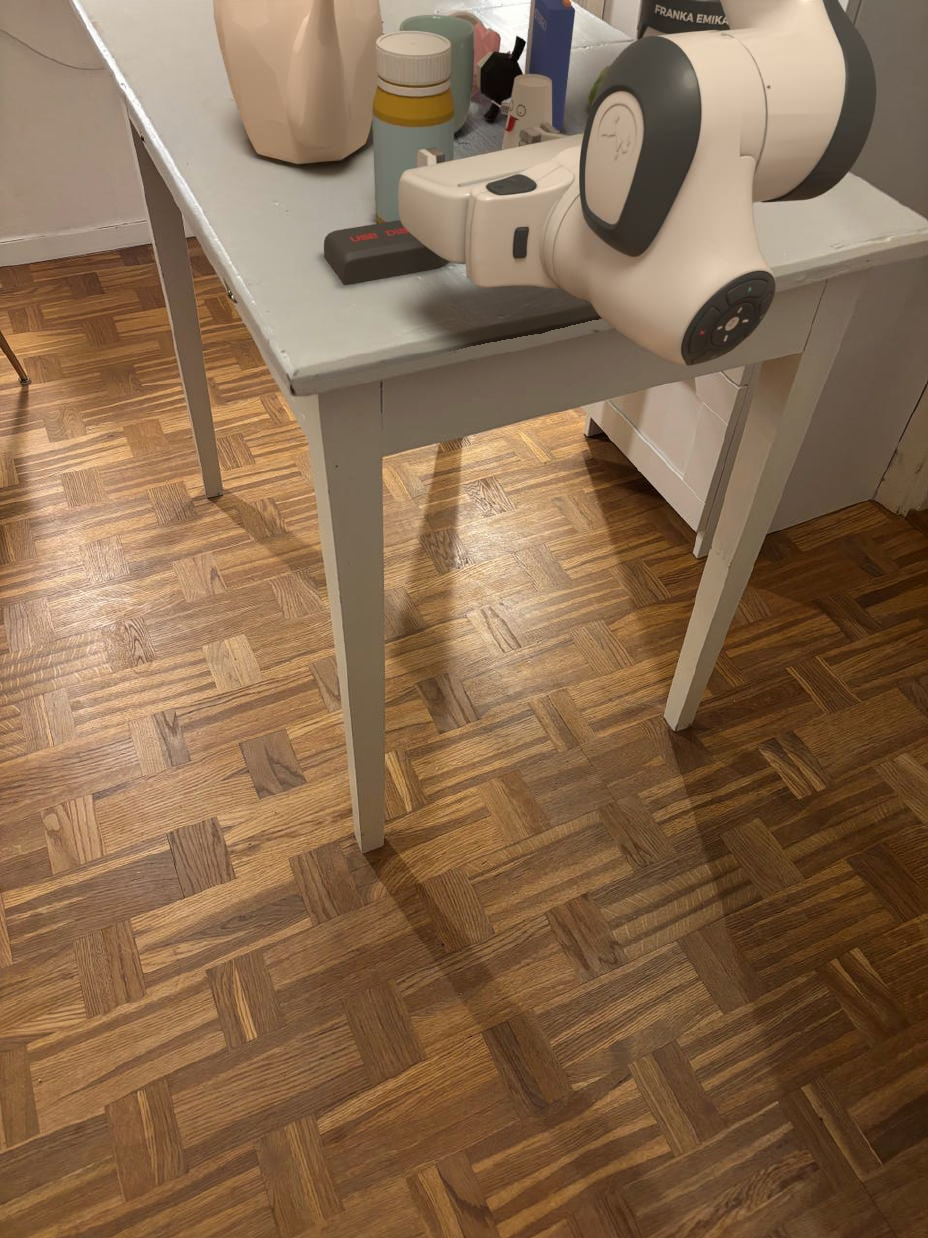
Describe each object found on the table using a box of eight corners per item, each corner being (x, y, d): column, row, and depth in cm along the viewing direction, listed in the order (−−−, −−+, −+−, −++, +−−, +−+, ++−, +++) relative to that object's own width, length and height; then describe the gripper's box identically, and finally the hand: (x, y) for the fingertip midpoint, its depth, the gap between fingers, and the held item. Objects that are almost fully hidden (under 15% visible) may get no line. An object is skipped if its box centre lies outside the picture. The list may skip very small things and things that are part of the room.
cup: (463, 147, 100) (467, 42, 93) (392, 139, 101) (390, 33, 94) (477, 121, 106) (482, 18, 98) (409, 112, 106) (409, 10, 99)
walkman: (562, 130, 104) (576, 5, 95) (537, 131, 104) (549, 5, 95) (545, 104, 109) (556, -18, 100) (521, 104, 109) (531, -18, 100)
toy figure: (467, 156, 99) (470, 66, 93) (509, 145, 101) (515, 57, 95) (539, 200, 92) (548, 106, 86) (582, 187, 95) (594, 95, 89)
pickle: (599, 88, 114) (603, 59, 112) (625, 92, 114) (629, 62, 111) (582, 117, 108) (586, 86, 105) (610, 121, 107) (615, 90, 105)
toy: (450, -11, 108) (494, 20, 98) (501, 21, 112) (548, 55, 102) (417, 64, 112) (455, 102, 102) (466, 92, 116) (508, 132, 106)
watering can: (260, 214, 88) (232, -24, 74) (214, 109, 105) (184, -102, 91) (420, 197, 92) (421, -33, 78) (351, 98, 109) (342, -106, 95)
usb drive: (324, 256, 83) (321, 226, 81) (449, 235, 87) (450, 205, 85) (344, 284, 80) (342, 253, 78) (472, 261, 83) (474, 230, 81)
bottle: (410, 200, 91) (410, 23, 80) (466, 223, 88) (473, 43, 77) (360, 223, 88) (352, 41, 77) (416, 248, 85) (417, 63, 74)
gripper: (701, 147, 68) (588, 84, 76) (460, 201, 61) (361, 126, 68) (683, 232, 73) (577, 165, 81) (457, 293, 65) (364, 212, 73)
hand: (476, 147), depth 75 cm, fingers open, 8 cm apart
